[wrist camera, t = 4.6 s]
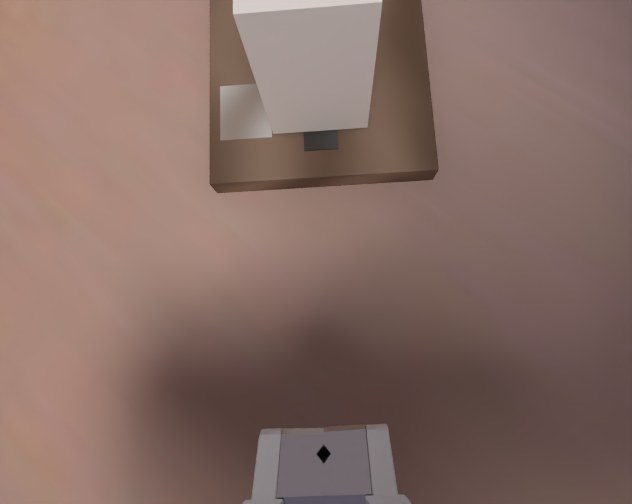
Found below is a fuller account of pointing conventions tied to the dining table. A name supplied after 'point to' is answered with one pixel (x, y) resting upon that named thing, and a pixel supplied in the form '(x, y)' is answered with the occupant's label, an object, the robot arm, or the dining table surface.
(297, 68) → the switch tab
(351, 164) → the switch board
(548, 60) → the dining table surface
